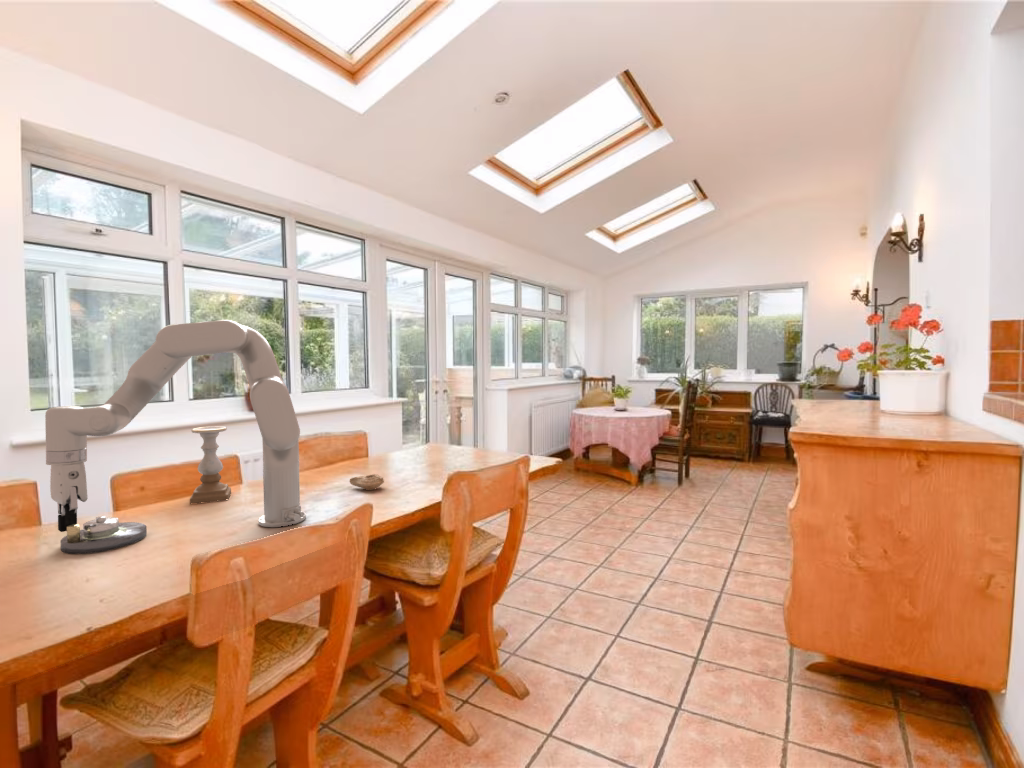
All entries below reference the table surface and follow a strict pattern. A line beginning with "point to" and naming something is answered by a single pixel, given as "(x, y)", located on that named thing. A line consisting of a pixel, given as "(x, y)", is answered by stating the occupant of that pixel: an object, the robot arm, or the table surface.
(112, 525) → the cover
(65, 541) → the turntable
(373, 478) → the pottery oil lamp
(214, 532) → the table surface
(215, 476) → the candle holder
